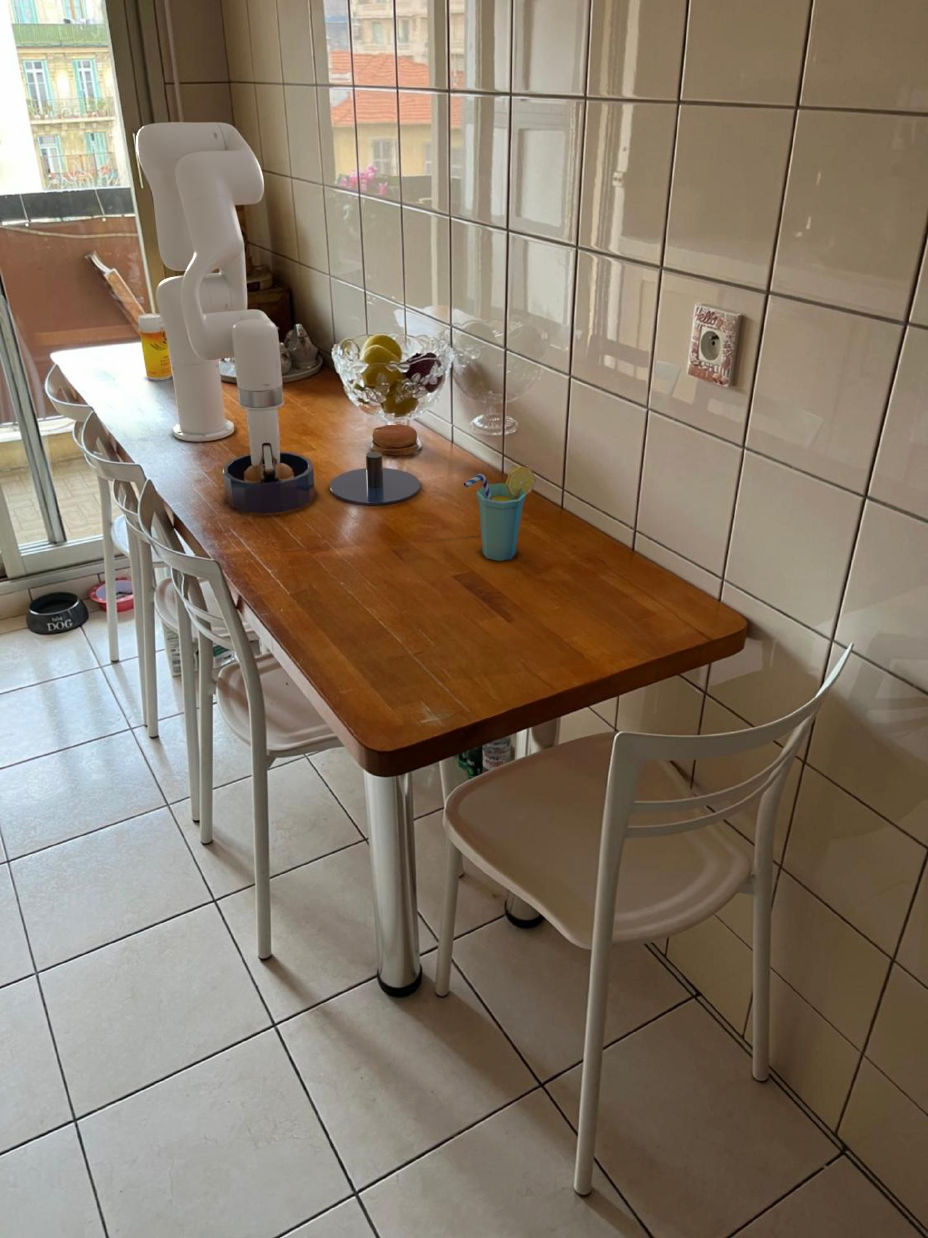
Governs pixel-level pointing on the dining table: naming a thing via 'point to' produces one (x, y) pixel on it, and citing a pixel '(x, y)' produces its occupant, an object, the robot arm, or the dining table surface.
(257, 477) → the bread
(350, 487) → the lid
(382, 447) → the burger
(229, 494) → the pot
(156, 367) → the yellow tall cylinder
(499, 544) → the cup
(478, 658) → the dining table surface
